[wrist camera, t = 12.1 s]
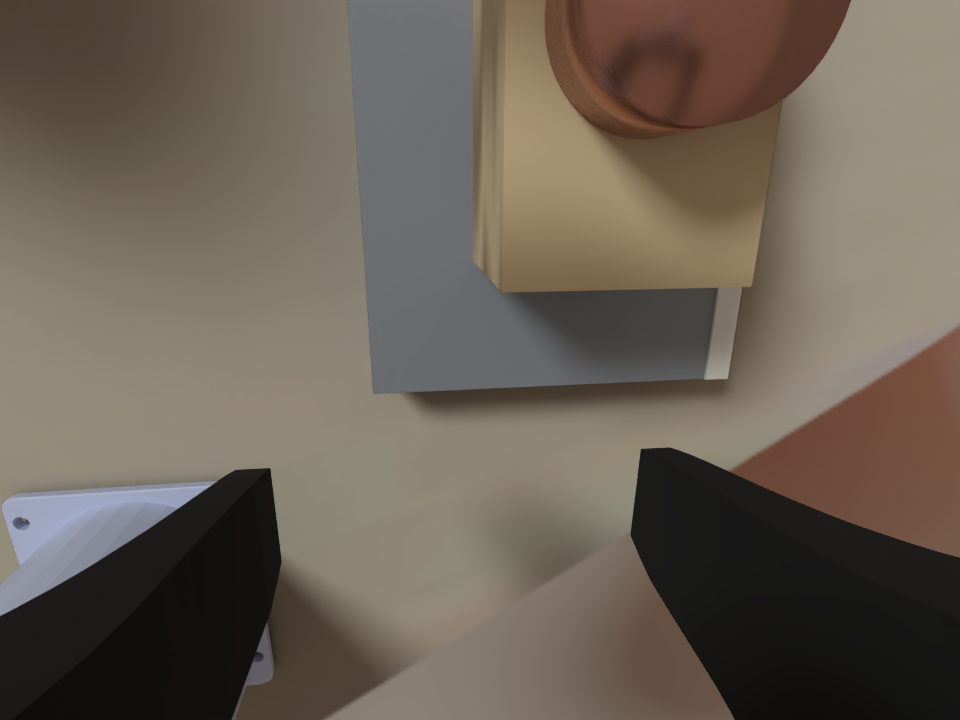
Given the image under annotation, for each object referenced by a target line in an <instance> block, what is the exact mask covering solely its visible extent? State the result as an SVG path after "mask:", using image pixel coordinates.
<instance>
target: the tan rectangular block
mask: <svg viewBox="0 0 960 720" xmlns="http://www.w3.org/2000/svg"><path fill="white" fill-rule="evenodd" d="M545 7H546V0H473V262H474V263H475V264H476V265H477V266H478V267H479V268H480V269H481V270H482V271H483V273H484V274H485V275H486V276H487V277H488V278H489V279H490V280H491V281H492V283H493V284H494V285H495V286H496V287H497V288H498V289H499V290H500V291H501V292H502V293H506V292H550V291H594V290H637V289H681V288H725V287H752V282H753V276H754V269H755V263H756V257H757V251H758V245H759V239H760V233H761V227H762V221H763V215H764V208H765V202H766V196H767V190H768V184H769V178H770V172H771V166H772V160H773V154H774V147H775V141H776V135H777V129H778V123H779V117H780V111H781V105H782V100H781V101H780V102H778V103H777V104H775V105H774V106H772V107H771V108H769V109H767V110H765V111H763V112H761V113H759V114H757V115H755V116H752V117H749V118H746V119H743V120H740V121H736V122H732V123H727V124H722V125H717V126H712V127H707V128H702V129H697V130H693V131H688V132H683V133H678V134H673V135H668V136H663V137H658V138H653V139H630V138H624V137H620V136H616V135H613V134H610V133H608V132H606V131H603V130H601V129H600V128H598V127H596V126H595V125H593V124H592V123H590V122H589V121H588V120H587V119H585V118H584V117H583V116H582V115H581V114H580V113H579V112H578V111H577V110H576V109H575V108H574V107H573V106H572V105H571V103H570V102H569V101H568V99H567V98H566V96H565V95H564V93H563V92H562V90H561V88H560V86H559V84H558V82H557V80H556V78H555V75H554V73H553V70H552V67H551V64H550V60H549V56H548V52H547V47H546V39H545Z"/></svg>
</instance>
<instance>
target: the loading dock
mask: <svg viewBox="0 0 960 720" xmlns="http://www.w3.org/2000/svg"><path fill="white" fill-rule="evenodd" d="M347 9H348V24H349V39H350V54H351V69H352V84H353V99H354V114H355V129H356V144H357V160H358V175H359V190H360V205H361V220H362V235H363V250H364V265H365V280H366V295H367V310H368V325H369V340H370V355H371V371H372V386H373V394H382V393H403V392H425V391H447V390H469V389H491V388H513V387H535V386H557V385H578V384H600V383H622V382H644V381H666V380H688V379H705V380H711V379H728V378H729V373H730V367H731V360H732V354H733V348H734V342H735V335H736V329H737V323H738V316H739V310H740V304H741V298H742V291H743V287H725V288H681V289H637V290H594V291H550V292H506V293H502V292H501V291H500V290H499V289H498V288H497V287H496V286H495V285H494V284H493V283H492V281H491V280H490V279H489V278H488V277H487V276H486V275H485V274H484V273H483V271H482V270H481V269H480V268H479V267H478V266H477V265H476V264H475V263H474V262H473V0H347Z"/></svg>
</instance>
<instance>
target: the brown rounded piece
mask: <svg viewBox="0 0 960 720" xmlns="http://www.w3.org/2000/svg"><path fill="white" fill-rule="evenodd" d="M850 2H851V0H546V7H545V39H546V47H547V52H548V56H549V60H550V64H551V67H552V70H553V73H554V75H555V78H556V80H557V82H558V84H559V86H560V88H561V90H562V92H563V93H564V95H565V96H566V98H567V99H568V101H569V102H570V103H571V105H572V106H573V107H574V108H575V109H576V110H577V111H578V112H579V113H580V114H581V115H582V116H583V117H584V118H585V119H587V120H588V121H589V122H590V123H592V124H593V125H595V126H596V127H598V128H600V129H601V130H603V131H606V132H608V133H610V134H613V135H616V136H620V137H624V138H630V139H653V138H658V137H663V136H668V135H673V134H678V133H683V132H688V131H693V130H697V129H702V128H707V127H712V126H717V125H722V124H727V123H732V122H736V121H740V120H743V119H746V118H749V117H752V116H755V115H757V114H759V113H761V112H763V111H765V110H767V109H769V108H771V107H772V106H774V105H775V104H777V103H778V102H780V101H781V100H783V99H784V98H786V97H787V96H788V95H789V94H790V93H792V92H793V91H794V90H795V89H796V88H797V87H799V86H800V85H801V84H802V83H803V81H804V80H805V79H806V78H807V77H808V76H809V75H810V74H811V73H812V72H813V71H814V69H815V68H816V67H817V65H818V64H819V63H820V61H821V60H822V59H823V57H824V56H825V54H826V53H827V51H828V49H829V48H830V46H831V44H832V43H833V41H834V39H835V38H836V35H837V33H838V31H839V29H840V27H841V25H842V23H843V21H844V18H845V16H846V13H847V10H848V7H849V4H850Z"/></svg>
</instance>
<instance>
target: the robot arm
mask: <svg viewBox="0 0 960 720" xmlns="http://www.w3.org/2000/svg"><path fill="white" fill-rule="evenodd" d="M2 512H3V515H4V518H5V521H6V524H7V527H8V530H9V533H10V537H11V540H12V543H13V546H14V549H15V552H16V555H17V558H18V561H19V564H20V566H19V567H18V568H17V569H16V570H15V571H14V572H13V573H12V574H11V575H10V576H9V577H8V578H7V579H6V580H5V581H4V582H3V583H2V584H1V585H0V720H236V717H237V714H238V711H239V708H240V705H241V702H242V699H243V696H244V693H245V690H246V686H250V685H259V684H264V683H267V682H269V681H270V680H271V679H272V677H273V674H274V669H275V666H274V660H273V654H272V647H271V641H270V634H269V628H268V622H267V620H268V617H269V614H270V611H271V607H272V603H273V598H274V594H275V590H276V585H277V580H278V576H279V571H280V566H281V553H280V545H279V536H278V528H277V520H276V512H275V503H274V495H273V487H272V479H271V470H270V468H265V469H245V470H235V471H233V472H231V473H229V474H228V475H226V476H225V477H223V478H221V479H220V480H218V481H206V482H190V483H174V484H159V485H143V486H127V487H112V488H96V489H80V490H64V491H49V492H33V493H20V494H15V495H13V496H12V497H11V498H9V499H8V500H7V501H5V502H4V504H3V506H2ZM21 517H22V518H25V519H27V520H28V521H29V523H26V522H24V521H23V520H22V519H21ZM631 537H632V540H633V542H634V545H635V547H636V549H637V552H638V554H639V556H640V559H641V561H642V563H643V565H644V567H645V569H646V571H647V574H648V576H649V578H650V580H651V582H652V583H653V585H654V587H655V588H656V590H657V592H658V594H659V595H660V597H661V598H662V600H663V602H664V603H665V605H666V607H667V608H668V610H669V611H670V613H671V614H672V616H673V618H674V619H675V621H676V623H677V624H678V626H679V627H680V629H681V631H682V632H683V634H684V635H685V637H686V639H687V640H688V642H689V643H690V645H691V647H692V648H693V650H694V652H695V653H696V655H697V656H698V658H699V660H700V661H701V663H702V664H703V666H704V668H705V669H706V671H707V672H708V674H709V675H710V677H711V679H712V680H713V682H714V683H715V685H716V687H717V689H718V690H719V692H720V694H721V696H722V697H723V699H724V701H725V703H726V704H727V706H728V708H729V710H730V711H731V713H732V715H733V717H734V719H735V720H960V558H959V557H955V556H951V555H948V554H944V553H941V552H937V551H934V550H930V549H927V548H924V547H921V546H917V545H914V544H911V543H907V542H905V541H902V540H899V539H896V538H893V537H890V536H887V535H884V534H881V533H878V532H875V531H872V530H869V529H866V528H863V527H860V526H857V525H855V524H852V523H849V522H846V521H844V520H841V519H839V518H836V517H833V516H831V515H828V514H826V513H823V512H821V511H818V510H816V509H813V508H811V507H808V506H806V505H804V504H801V503H799V502H796V501H794V500H792V499H789V498H787V497H784V496H782V495H780V494H778V493H775V492H773V491H770V490H768V489H766V488H764V487H762V486H759V485H757V484H755V483H753V482H751V481H748V480H746V479H744V478H742V477H740V476H737V475H735V474H733V473H731V472H729V471H726V470H724V469H722V468H720V467H717V466H715V465H713V464H711V463H709V462H706V461H704V460H702V459H699V458H697V457H695V456H692V455H690V454H687V453H685V452H682V451H679V450H676V449H673V448H651V449H641V453H640V461H639V470H638V478H637V486H636V494H635V503H634V511H633V519H632V527H631ZM256 652H260V653H261V654H256Z"/></svg>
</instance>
